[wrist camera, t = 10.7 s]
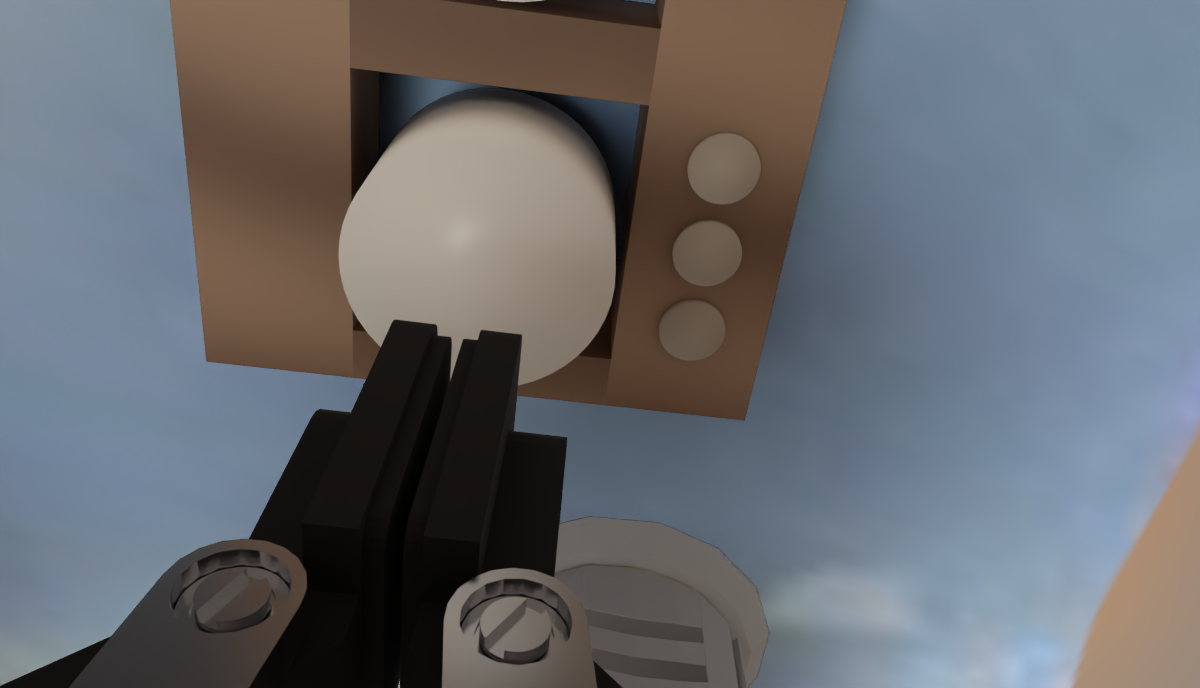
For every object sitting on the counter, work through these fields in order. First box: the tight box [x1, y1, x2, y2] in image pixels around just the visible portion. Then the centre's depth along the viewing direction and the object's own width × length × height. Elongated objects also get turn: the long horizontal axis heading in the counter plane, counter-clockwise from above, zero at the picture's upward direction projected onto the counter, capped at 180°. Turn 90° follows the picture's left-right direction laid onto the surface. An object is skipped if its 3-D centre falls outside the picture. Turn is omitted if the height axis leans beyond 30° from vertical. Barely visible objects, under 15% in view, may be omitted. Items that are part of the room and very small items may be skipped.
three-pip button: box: [338, 88, 616, 385], centre depth 18 cm, size 5×5×3 cm
